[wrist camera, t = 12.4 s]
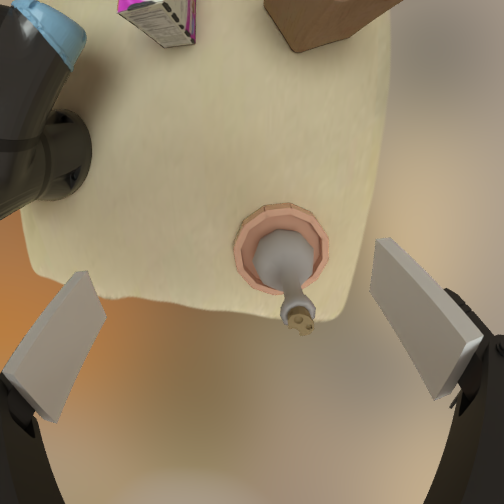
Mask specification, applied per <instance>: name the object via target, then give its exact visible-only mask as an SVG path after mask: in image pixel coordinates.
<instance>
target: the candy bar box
mask: <svg viewBox="0 0 504 504" xmlns="http://www.w3.org/2000/svg"><path fill="white" fill-rule="evenodd" d="M117 14H119V15H121V16H122V17H123V18H125V19H126V20H128V21H129V22H131V23H132V24H133V25H135V26H136V27H137V28H139V29H140V30H142V31H143V32H144V33H146V34H147V35H148V36H149V37H151V38H152V39H153V40H155V41H156V42H157V43H158V44H160V45H161V46H162V47H163V48H168V47H174V46H179V45H188V44H195V43H196V41H195V27H196V26H195V17H196V0H118V5H117Z"/></svg>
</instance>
